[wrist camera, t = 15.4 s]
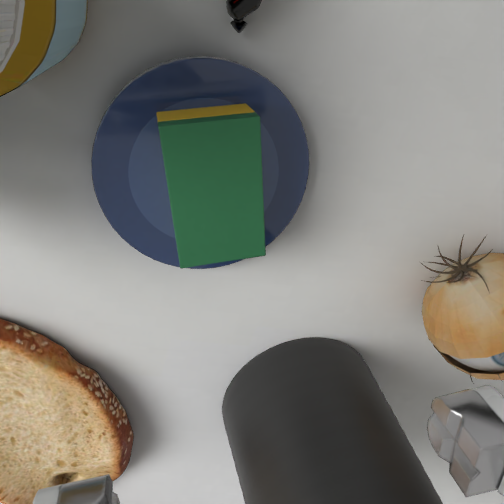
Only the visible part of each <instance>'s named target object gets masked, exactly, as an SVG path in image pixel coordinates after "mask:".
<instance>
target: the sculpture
mask: <svg viewBox="0 0 504 504" xmlns="http://www.w3.org/2000/svg"><path fill="white" fill-rule="evenodd" d="M463 236H464V235H463ZM485 237H486V236H485ZM484 239H485V238H484ZM484 239H483V240H484ZM462 240H463V238H462ZM483 240H482V242H483ZM482 242H481V243H480V244H479V246H478V247H477V248H476V250H475V251H474V252H473V254H472V255H471V256H470V257H468V258H466V259H463V260H461V247H462V241H461V245H460V250H459V259H458V262H456V261H454V260H452V259H449V258H447V257H443V256H442V255H441V253H440V251H439V253H440V255H441V256H436V257H442V259H443V261H444V262H445V263H446V264H443V263H436V262H430V263H436V264H441V265H445V266H449V267H448V268H447V269H446V270H444V271H443V272H439V271H435V270H432V269H430V268H428V267H426V266H425V265H423V264H422V263H421V262H420V261H419V262H420V263H421V264H422V265H423V266H425V267H426V268H428V269H429V270H431V271H434V272H437V273H440V275H439V276H438V277H437V278H436V279H435V280H434V281H433V282H431V283H432V284H431V285H430V286H429V287H428V288H427V291H426V293H425V296H424V299H423V306H422V316H423V321H424V326H425V329H426V332H427V335H428V338H429V340H430V341H431V342H432V343H433V345H434V347H435V348H436V349H437V350H438V352H439V353H440V354H441V355H442V356H443V357H444V358H445V360H446V361H447V362H448V363H450V364H451V365H453V366H454V367H456V368H457V369H459V370H461V371H463V372H465V373H467V374H469V375H470V377H471V376H473V377H475V378H477V379H493V380H501V381H502V380H504V253H490V252H491V251H492V250H493V249H492V250H491V251H490V252H489V253H488V254H482V255H477V256H473V255H474V254H475V253H476V251H477V250H478V248H479V247H480V245H481V244H482ZM438 249H439V247H438ZM444 258H445V259H447V260H450V261H451V262H453V263H454V264H452V265H450V264H449V263H447V262H446V260H445V259H444ZM430 278H432V277H430ZM421 281H422V280H421ZM426 282H430V281H426ZM471 380H472V378H471ZM472 382H473V381H472ZM473 384H474V383H473Z"/></svg>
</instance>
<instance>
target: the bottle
mask: <svg viewBox="0 0 504 504" xmlns="http://www.w3.org/2000/svg"><path fill="white" fill-rule="evenodd" d="M87 2H88V0H0V97H1V96H3V95H5V94H7V93H9V92H11V91H12V90H14V89H16V88H18V87H20V86H22V85H23V84H25V83H26V82H28V81H30V80H31V79H33V78H34V77H36V76H38V75H39V74H41V73H42V72H44V71H46V70H47V69H49V68H51V67H52V66H54V65H55V64H57V63H59V62H60V61H62V60H63V59H64V58H65V57H66V56H67V55H68V54H69V53H70V52H71V50H72V49H73V48H74V47H75V46H76V45H77V43H78V41H79V40H80V37H81V35H82V32H83V29H84V27H85V24H86V19H87Z"/></svg>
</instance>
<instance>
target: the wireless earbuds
mask: <svg viewBox="0 0 504 504" xmlns="http://www.w3.org/2000/svg"><path fill="white" fill-rule="evenodd" d="M261 1H262V0H227V1H226V7H227V11H228V14H229V15H230V16H231V17H232V18H233V19H234V21H232V22H231V25H232V26H233V28H234V29H235V30H236V31H237V32H238V33H240V32H241V31H242V30H243V29H244V28H245V26H246V24H247V23H246V22H245V21H243V18H244V17H246V16H247V15H249V14H250V13H252V12H253V11H255V10H256V9H257V8H258V7H259V6H260V4H261Z"/></svg>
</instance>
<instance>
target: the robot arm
mask: <svg viewBox="0 0 504 504" xmlns="http://www.w3.org/2000/svg"><path fill="white" fill-rule="evenodd" d="M431 408H432V410H433V411H434V414H433V415H432V416H431V417H430V418H429V419H428V424H427V431H428V436H429V440H430V442H431V444H432V446H433V448H434V450H435V451H436V453H437V454H438V456H439V457H441V458H442V459H444V460H446V461H447V462H449V463H450V468H449V472H450V474H451V475H452V477H453V478H454V480H455V481H456V483H457V484H458V486H459V487H460V489H461V490H462V492H463V493H464V495H465V496H466V497H469V496H473V495H477V494H481V493H485V492H490V491H494V490H498V491H497V492H499V493H500V494H501V495H503V496H504V397H503V396H502V395H501V394H500V393H499V392H498V391H497V390H496V389H495V388H494V387H492V386H490V385H486V386H482V387H478V388H474V389H467V390H463V391H459V392H455V393H451V394H447V395H443V396H439V397H436V398H435V399H434V400H433V401H432V405H431ZM112 490H113V482H112V479H111V477H110V475H109V474H107V475H103V476H98V477H93V478H89V479H84V480H80V481H75V482H70V483H66V484H60V485H56V486H52V487H47V488H43V489H39V490H38V491H37V493H36V495H35V497H34V500H33V504H120V502H119V498H118V495H117V494H116V493H114V492H112Z"/></svg>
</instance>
